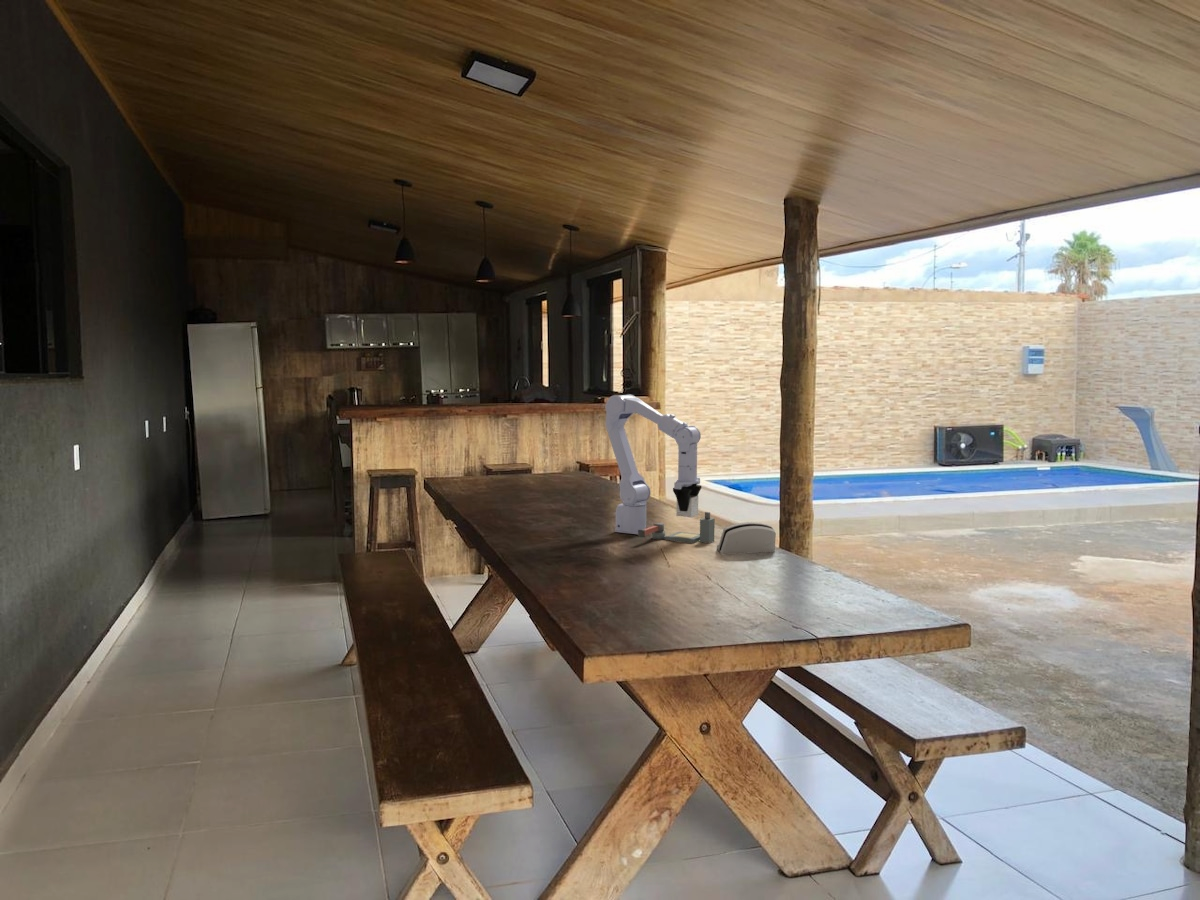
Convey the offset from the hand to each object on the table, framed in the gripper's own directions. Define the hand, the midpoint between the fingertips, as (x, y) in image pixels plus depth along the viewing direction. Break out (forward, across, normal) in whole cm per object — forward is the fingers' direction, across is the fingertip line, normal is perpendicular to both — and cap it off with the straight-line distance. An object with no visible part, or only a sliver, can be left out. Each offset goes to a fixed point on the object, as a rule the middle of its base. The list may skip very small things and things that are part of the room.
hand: (687, 509), depth 288 cm
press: (+9, -1, 0) cm, 9 cm away
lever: (+7, -10, +8) cm, 14 cm away
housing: (+2, 0, 0) cm, 2 cm away
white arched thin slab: (+9, -9, -23) cm, 27 cm away
